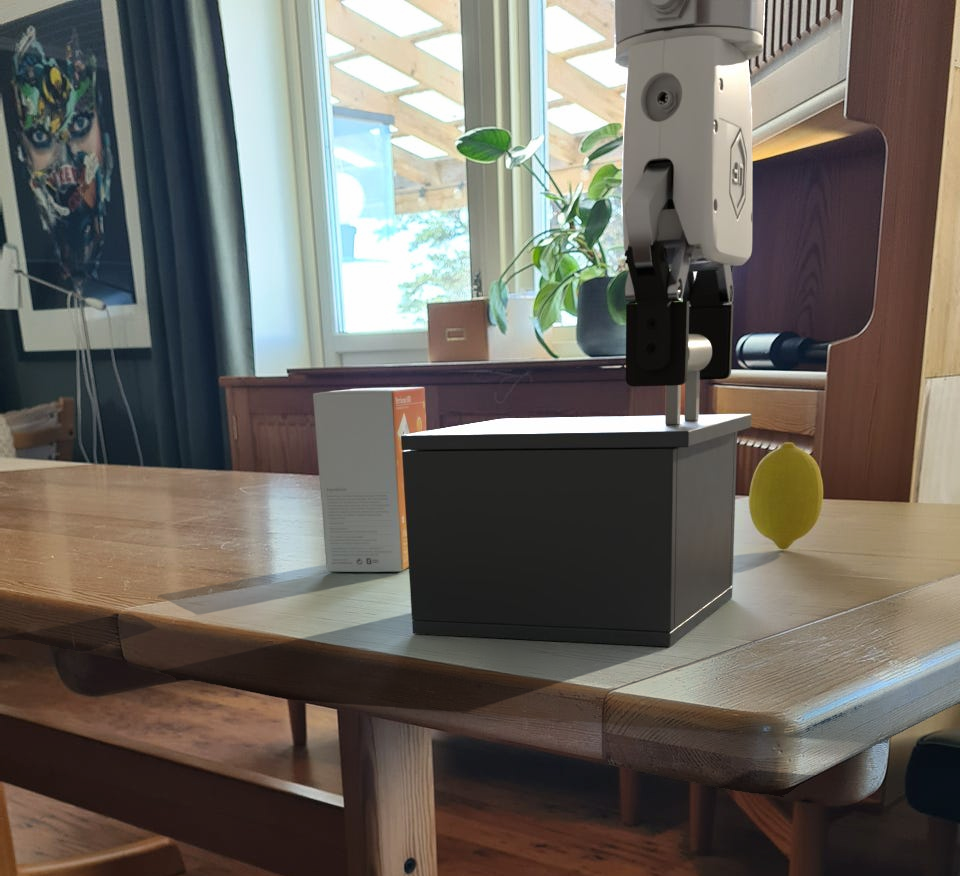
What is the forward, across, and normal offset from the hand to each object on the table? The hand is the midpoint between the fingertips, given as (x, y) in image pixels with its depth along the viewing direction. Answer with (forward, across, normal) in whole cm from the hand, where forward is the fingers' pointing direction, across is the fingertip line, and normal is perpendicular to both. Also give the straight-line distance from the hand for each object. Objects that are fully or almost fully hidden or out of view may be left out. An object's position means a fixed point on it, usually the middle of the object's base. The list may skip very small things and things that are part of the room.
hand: (681, 382), depth 71 cm
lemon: (+13, +28, -1) cm, 31 cm away
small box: (+14, +16, +28) cm, 35 cm away
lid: (+3, 0, +6) cm, 6 cm away
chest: (+13, 0, +6) cm, 15 cm away
